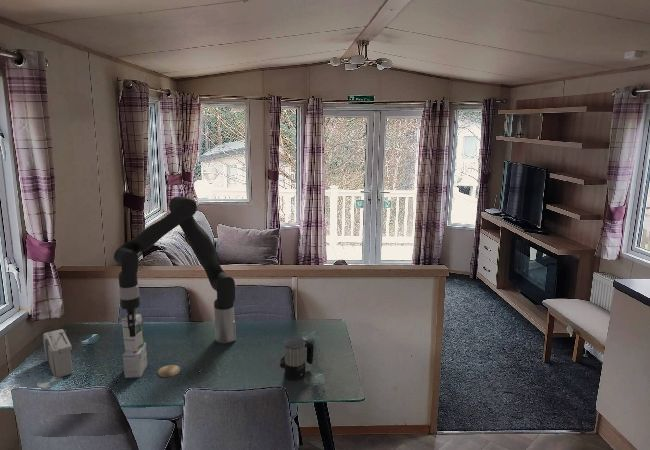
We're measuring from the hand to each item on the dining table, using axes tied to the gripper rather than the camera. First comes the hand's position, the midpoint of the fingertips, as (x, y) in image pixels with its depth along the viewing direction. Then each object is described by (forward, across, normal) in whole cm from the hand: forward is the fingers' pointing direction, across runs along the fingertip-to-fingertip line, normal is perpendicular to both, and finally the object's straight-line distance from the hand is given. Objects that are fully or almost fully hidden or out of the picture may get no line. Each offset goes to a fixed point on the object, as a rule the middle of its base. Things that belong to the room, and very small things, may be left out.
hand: (133, 332), depth 202 cm
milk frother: (+18, -21, -63) cm, 69 cm away
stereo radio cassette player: (+18, +14, +31) cm, 39 cm away
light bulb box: (+18, 0, 0) cm, 18 cm away
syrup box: (+8, 0, 0) cm, 8 cm away
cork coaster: (+18, -5, -13) cm, 23 cm away
